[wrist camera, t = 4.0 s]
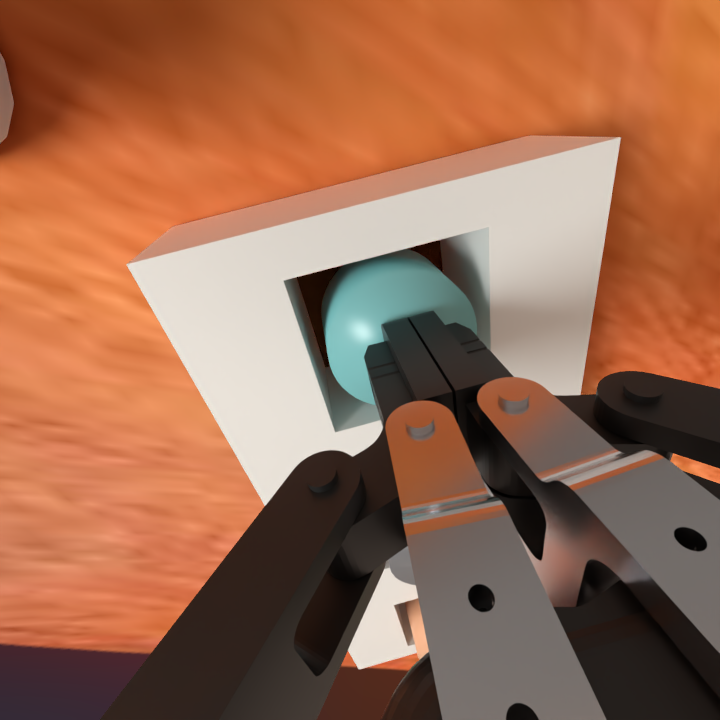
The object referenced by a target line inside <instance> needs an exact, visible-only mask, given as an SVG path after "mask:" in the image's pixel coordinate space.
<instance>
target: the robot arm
mask: <svg viewBox="0 0 720 720" xmlns="http://www.w3.org/2000/svg"><path fill="white" fill-rule="evenodd" d="M381 329H382V334H383V339H384V342H380V343H376V344H372V345H368V347H367V350H366V353H365V355H364V360H365V364H366V368H367V372H368V376H369V380H370V384H371V389H372V393H373V397H374V400H375V404H376V407H377V410H378V413H379V417H380V420H381V423H382V426H383V429H382V432H381V434H380V435H379V437H378V438H377V440H376V441H375V442H374V443H373V444H372V445H370V446H369V447H368V448H366V449H365V450H363V451H362V452H360V453H358V454H356V455H355V456H353V457H352V456H351V455H349V454H347V453H345V452H342V451H338V450H327V451H321V452H318V453H315V454H313V455H311V456H309V457H307V458H306V459H304V460H303V461H301V462H300V463H299V464H298V465H297V466H296V467H295V468H294V470H293V471H292V472H291V473H290V475H289V476H288V477H287V479H286V480H285V481H284V482H283V484H282V485H281V486H280V488H279V489H278V490H277V491H276V493H275V494H274V495H273V497H272V498H271V499H270V501H269V502H268V503H267V504H266V506H265V507H264V508H263V510H262V511H261V512H260V513H259V515H258V516H257V517H256V519H255V520H254V521H253V523H252V524H251V525H250V526H249V528H248V529H247V530H246V532H245V533H244V534H243V535H242V537H241V538H240V539H239V541H238V542H237V543H236V544H235V546H234V547H233V548H232V550H231V551H230V552H229V554H228V555H227V556H226V557H225V559H224V560H223V561H222V563H221V564H220V565H219V566H218V568H217V569H216V570H215V572H214V573H213V574H212V575H211V577H210V578H209V579H208V581H207V582H206V583H205V585H204V586H203V587H202V588H201V590H200V591H199V592H198V594H197V595H196V596H195V597H194V599H193V600H192V601H191V603H190V604H189V605H188V607H187V608H186V609H185V610H184V612H183V613H182V614H181V616H180V617H179V618H178V619H177V621H176V622H175V623H174V625H173V626H172V627H171V628H170V630H169V631H168V632H167V634H166V635H165V636H164V638H163V639H162V640H161V641H160V643H159V644H158V645H157V647H156V648H155V649H154V650H153V652H152V653H151V654H150V656H149V657H148V658H147V660H146V661H145V662H144V663H143V665H142V666H141V667H140V669H139V670H138V671H137V672H136V674H135V675H134V676H133V678H132V679H131V680H130V682H129V683H128V684H127V686H126V687H125V688H124V689H123V691H122V692H121V693H120V694H119V696H118V697H117V698H116V700H115V701H114V702H113V703H112V705H111V706H110V707H109V709H108V710H107V711H106V713H105V714H104V715H103V716H102V718H101V719H100V720H317V717H318V715H319V713H320V711H321V708H322V706H323V704H324V702H325V700H326V697H327V695H328V693H329V691H330V688H331V686H332V684H333V682H334V680H335V677H336V675H337V673H338V671H339V669H340V666H341V664H342V662H343V660H344V658H345V655H346V653H347V651H348V649H349V646H350V644H351V642H352V640H353V638H354V635H355V633H356V631H357V629H358V626H359V624H360V622H361V620H362V618H363V615H364V613H365V611H366V609H367V607H368V604H369V602H370V600H371V598H372V595H373V593H374V591H375V589H376V587H377V584H378V582H379V580H380V578H381V576H382V573H383V571H384V568H385V564H386V561H387V560H389V559H390V558H391V557H393V556H394V555H396V554H397V553H398V552H400V551H401V550H403V549H404V548H406V547H407V546H408V549H409V554H410V559H411V564H412V569H413V574H414V579H415V584H416V589H417V594H418V599H419V604H420V609H421V614H422V619H423V624H424V629H425V634H426V639H427V644H428V649H429V652H428V653H426V654H425V655H424V656H423V657H422V658H421V659H420V660H419V661H418V662H417V663H416V664H415V665H413V667H412V668H411V669H410V670H409V672H408V673H407V674H406V676H405V677H404V678H403V679H402V680H401V682H400V683H399V685H398V687H397V688H396V690H395V691H394V693H393V695H392V697H391V698H390V700H389V702H388V704H387V707H386V709H385V711H384V713H383V715H382V718H381V720H720V484H719V483H716V482H713V481H710V480H707V479H704V478H701V477H699V476H696V475H693V474H690V473H687V472H684V471H682V470H681V469H679V468H678V467H677V466H675V465H674V464H673V463H672V462H670V460H671V457H672V455H673V453H674V454H677V455H680V456H683V457H687V458H690V459H693V460H696V461H699V462H702V463H705V464H708V465H711V466H714V467H717V468H720V389H718V388H713V387H709V386H704V385H700V384H696V383H691V382H687V381H682V380H678V379H673V378H669V377H664V376H660V375H655V374H651V373H645V372H637V371H625V372H618V373H613V374H610V375H608V376H606V377H604V378H603V379H602V380H601V381H600V382H599V384H598V386H597V392H596V394H594V395H565V396H563V395H553V394H551V393H550V392H549V391H548V390H547V389H546V388H544V387H543V386H542V385H540V384H538V383H537V382H534V381H532V380H529V379H525V378H519V377H514V376H513V375H512V374H511V373H510V372H509V371H508V370H507V369H506V367H505V366H504V365H503V364H502V363H501V362H500V361H499V360H498V359H497V358H496V356H495V355H494V354H493V353H492V352H491V351H490V350H489V349H487V346H486V345H485V344H484V343H483V342H482V341H480V340H479V338H478V337H477V335H476V334H475V333H474V332H473V331H472V330H471V329H470V328H468V327H465V326H463V325H461V324H458V323H456V322H455V323H451V324H447V325H445V324H444V323H443V322H442V320H441V319H440V318H439V317H438V315H437V314H436V313H435V312H434V311H429V312H425V313H421V314H417V315H414V316H410V317H407V318H403V319H399V320H395V321H391V322H388V323H384V324H381ZM476 466H477V467H476ZM477 468H478V469H477ZM478 470H479V471H478ZM479 472H480V473H481V476H480V473H479Z"/></svg>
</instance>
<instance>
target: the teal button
mask: <svg viewBox="0 0 720 720" xmlns="http://www.w3.org/2000/svg"><path fill="white" fill-rule="evenodd" d="M429 311H434V312H435V313H436V314H437V315H438V317H439V318H440V319H441V320H442V322H443V323H444V324H445V325H447V324H451V323H455V322H456V323H458V324H461V325H463V326H465V327H468V328H470V329H471V330H472V331H473V332H474V333H475V334H476V335H477V321H476V316H475V312H474V309H473V307H472V305H471V303H470V301H469V300H468V298H467V297H466V295H465V294H464V293H463V292H462V291H461V290H460V289H459V288H458V287H457V286H456V285H455V284H454V283H453V282H452V281H451V280H450V279H449V278H448V277H446V276H445V275H444V274H443V273H442V272H441V271H440V270H439V269H438V268H437V267H436V266H435V265H434V264H432V263H431V262H430V261H429V260H428V259H427V258H425V257H424V256H422V255H421V254H419V253H417V252H415V251H412V250H410V249H403V250H399V251H395V252H391V253H387V254H384V255H380V256H376V257H372V258H368V259H364V260H361V261H357V262H353V263H349V264H345V265H343V266H342V267H341V268H340V269H339V270H338V271H337V272H336V273H335V275H334V276H333V277H332V279H331V280H330V282H329V284H328V286H327V288H326V290H325V293H324V296H323V301H322V307H321V317H322V325H323V330H324V336H325V342H326V348H327V354H328V359H329V364H330V367H331V370H332V372H333V375H334V376H335V378H336V380H337V381H338V383H339V384H340V385H341V386H342V388H344V389H345V390H346V391H347V392H348V393H349V394H351V395H352V396H354V397H355V398H357V399H359V400H361V401H363V402H366V403H369V404H372V405H376V404H375V400H374V397H373V393H372V389H371V384H370V380H369V376H368V372H367V368H366V364H365V360H364V355H365V353H366V350H367V347H368V345H372V344H376V343H380V342H384V339H383V334H382V329H381V324H384V323H388V322H391V321H395V320H399V319H403V318H407V317H410V316H414V315H417V314H421V313H425V312H429Z"/></svg>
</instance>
